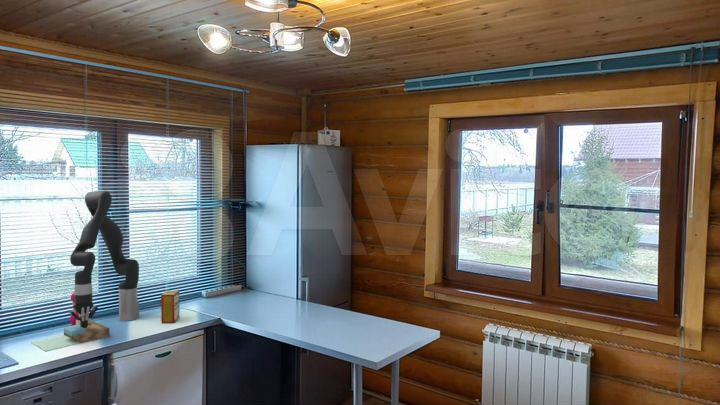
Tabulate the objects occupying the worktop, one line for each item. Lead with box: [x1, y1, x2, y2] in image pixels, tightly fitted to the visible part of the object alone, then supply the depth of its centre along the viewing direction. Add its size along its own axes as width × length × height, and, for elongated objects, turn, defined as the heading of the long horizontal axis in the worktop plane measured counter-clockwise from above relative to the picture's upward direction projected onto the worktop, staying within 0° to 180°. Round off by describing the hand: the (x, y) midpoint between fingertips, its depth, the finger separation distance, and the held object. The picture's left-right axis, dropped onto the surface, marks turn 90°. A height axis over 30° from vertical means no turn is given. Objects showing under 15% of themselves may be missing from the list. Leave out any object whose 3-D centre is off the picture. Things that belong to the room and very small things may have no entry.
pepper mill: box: [69, 292, 80, 326], centre depth 254 cm, size 7×7×20 cm
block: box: [76, 318, 92, 326], centre depth 246 cm, size 5×5×3 cm
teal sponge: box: [63, 325, 85, 336], centre depth 234 cm, size 6×9×2 cm, turn 51°
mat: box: [31, 334, 80, 352], centre depth 230 cm, size 14×18×1 cm
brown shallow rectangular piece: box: [63, 320, 111, 344], centre depth 241 cm, size 14×18×4 cm
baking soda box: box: [160, 290, 181, 325], centre depth 267 cm, size 10×6×16 cm
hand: (84, 327), depth 237 cm, fingers closed
